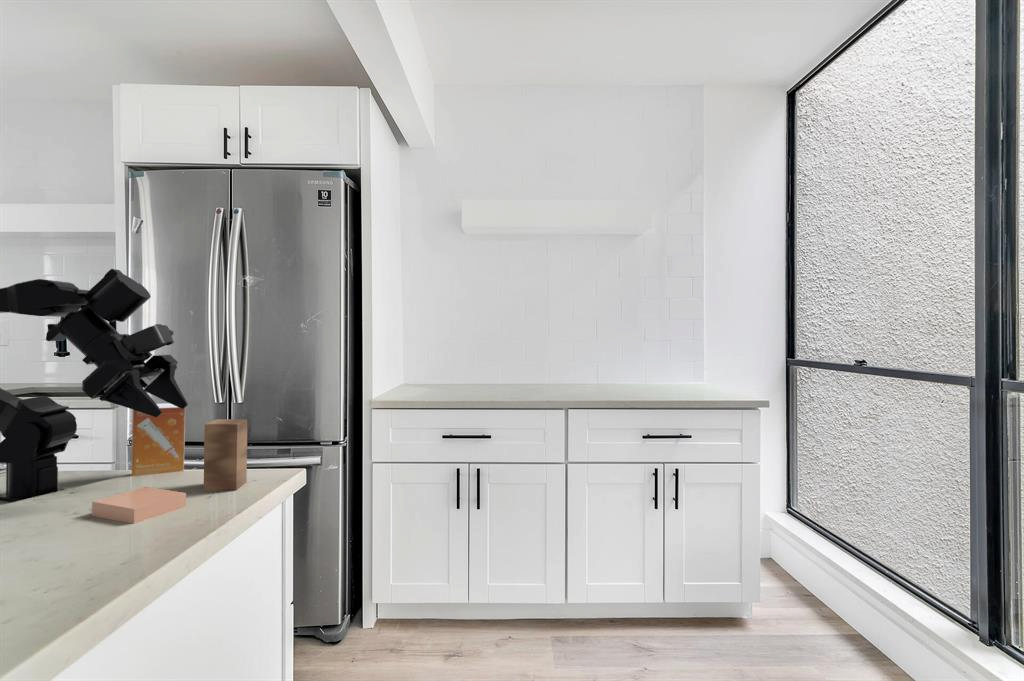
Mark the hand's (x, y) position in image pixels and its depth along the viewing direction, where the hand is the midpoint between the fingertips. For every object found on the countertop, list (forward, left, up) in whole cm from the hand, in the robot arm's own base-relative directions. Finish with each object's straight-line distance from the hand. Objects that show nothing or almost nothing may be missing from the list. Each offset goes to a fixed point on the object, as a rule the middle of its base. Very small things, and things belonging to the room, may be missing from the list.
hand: (173, 410), depth 94 cm
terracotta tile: (+6, -11, -13) cm, 18 cm away
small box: (-11, +8, -14) cm, 20 cm away
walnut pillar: (+8, +3, -14) cm, 16 cm away
